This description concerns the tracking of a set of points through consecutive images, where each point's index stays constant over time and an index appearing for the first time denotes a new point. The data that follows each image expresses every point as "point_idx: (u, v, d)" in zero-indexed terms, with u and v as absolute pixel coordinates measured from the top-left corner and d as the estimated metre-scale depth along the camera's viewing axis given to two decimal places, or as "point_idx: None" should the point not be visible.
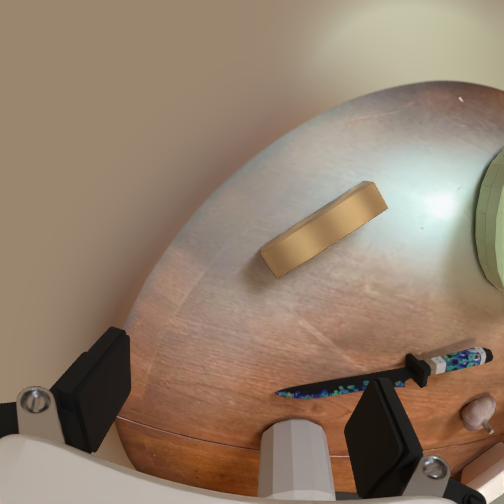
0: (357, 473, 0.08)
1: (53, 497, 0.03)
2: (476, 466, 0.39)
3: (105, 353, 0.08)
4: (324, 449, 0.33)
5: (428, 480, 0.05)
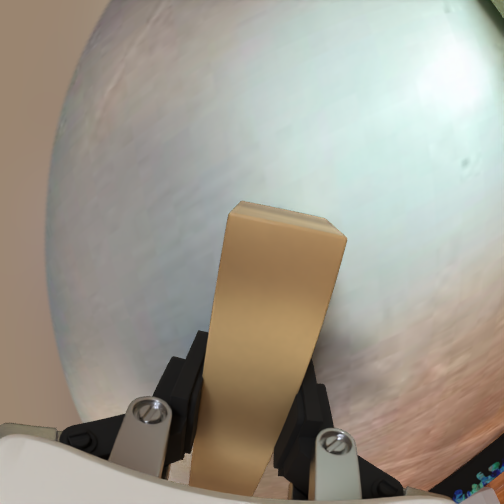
0: (276, 443, 0.09)
1: (53, 497, 0.03)
2: None
3: (203, 356, 0.10)
4: None
5: (334, 457, 0.06)
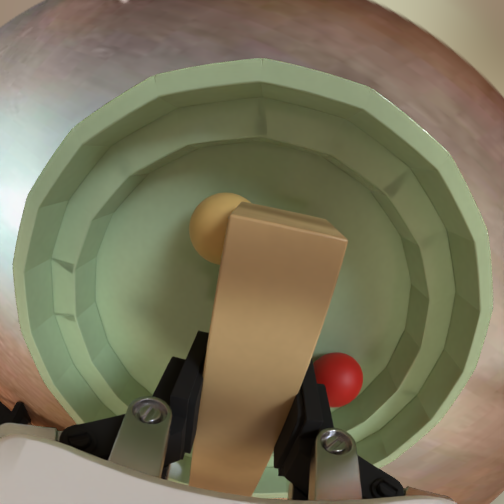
0: (276, 444, 0.09)
1: (53, 497, 0.03)
2: None
3: (203, 356, 0.10)
4: None
5: (334, 457, 0.06)
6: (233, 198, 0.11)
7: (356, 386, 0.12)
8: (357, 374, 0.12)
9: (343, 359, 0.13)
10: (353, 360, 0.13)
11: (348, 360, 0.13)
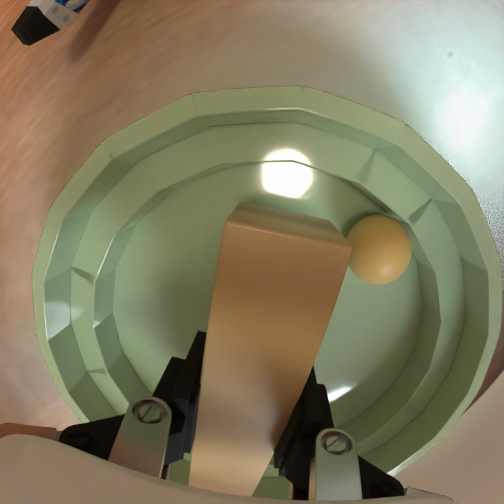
0: None
1: (53, 497, 0.03)
2: None
3: None
4: None
5: (334, 457, 0.06)
6: None
7: None
8: None
9: None
10: None
11: None
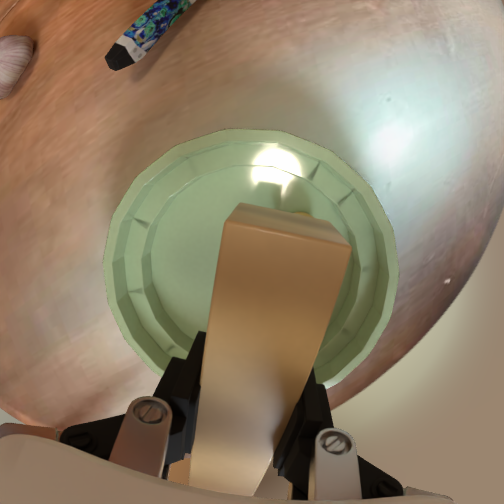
0: None
1: (53, 497, 0.03)
2: None
3: None
4: None
5: (334, 457, 0.06)
6: None
7: None
8: None
9: None
10: None
11: None
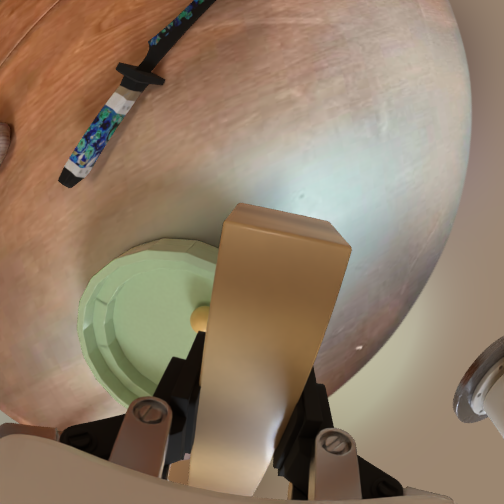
0: None
1: (53, 497, 0.03)
2: None
3: None
4: None
5: (334, 457, 0.06)
6: None
7: None
8: None
9: None
10: None
11: None
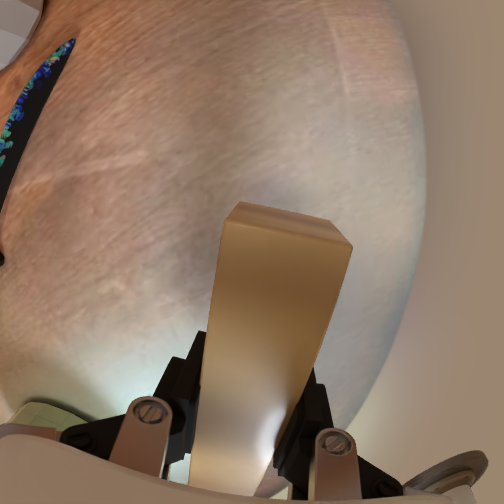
0: None
1: (53, 497, 0.03)
2: None
3: None
4: None
5: (334, 457, 0.06)
6: None
7: None
8: None
9: None
10: None
11: None
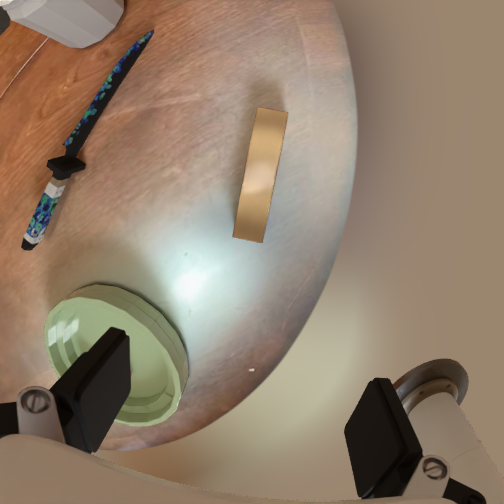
0: (357, 473, 0.08)
1: (53, 497, 0.03)
2: None
3: (105, 353, 0.08)
4: (64, 37, 0.22)
5: (427, 479, 0.05)
6: None
7: None
8: None
9: None
10: None
11: None
